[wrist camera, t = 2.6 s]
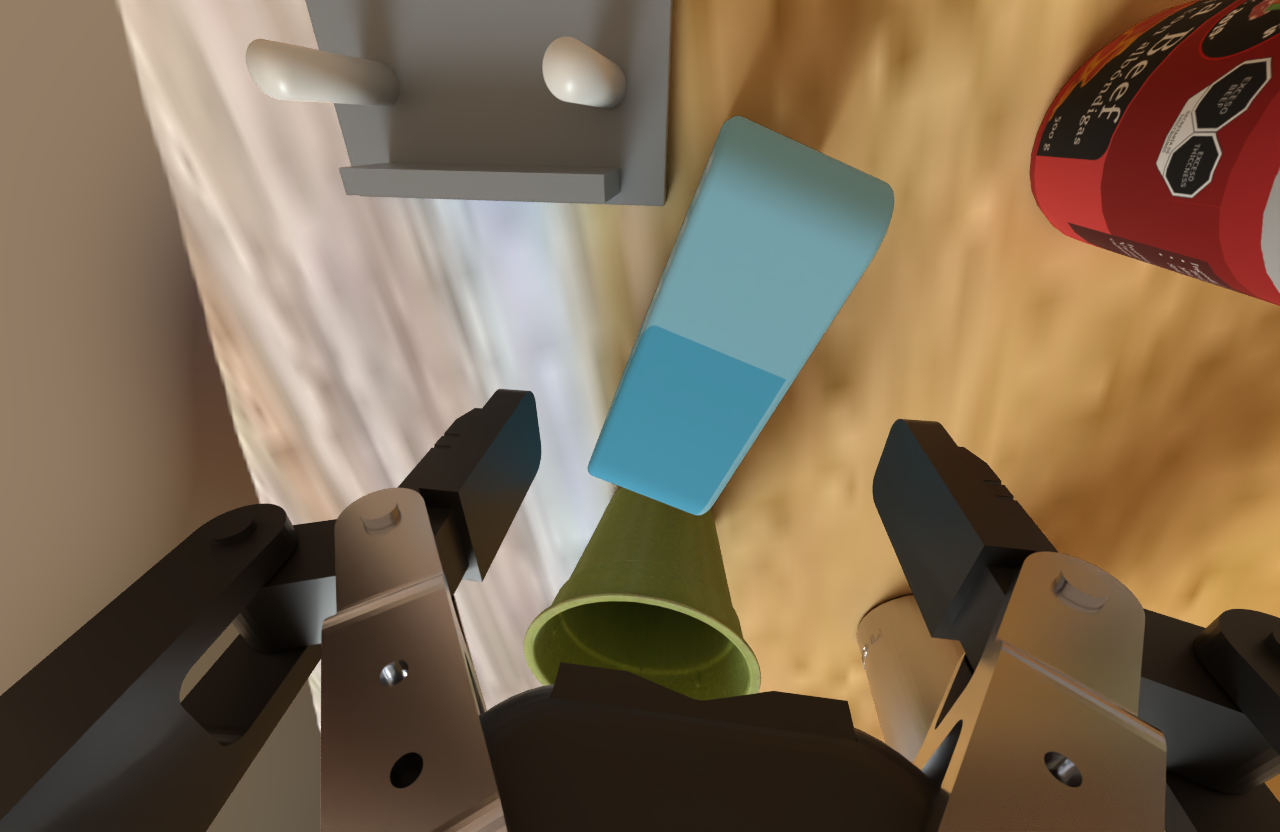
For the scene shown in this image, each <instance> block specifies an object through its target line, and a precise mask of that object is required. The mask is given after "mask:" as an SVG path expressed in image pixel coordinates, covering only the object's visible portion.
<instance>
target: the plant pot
mask: <svg viewBox="0 0 1280 832" xmlns="http://www.w3.org/2000/svg"><path fill="white" fill-rule="evenodd" d="M524 654H525V659H526V662H527V664H528V666H529V668H530V669H531V672H532V673H533V674H534V675H535V676H536V678H537V680H538V681H539V682H540V683H541V684H542V685H543V686H546V685H553V684H555V680H556V676H557V673H558V669H559V666H560V662H563V663H570V664H578V665H585V666H593V667H600V668H607V669H615V670H622V671H628V672H631V673H633V674H635V675H638V676H640V677H642V678H645V679H647V680H650V681H652V682H654V683H657V684H659V685H662V686H664V687H666V688H669V689H671V690H673V691H676V692H678V693H681V694H683V695H685V696H688V697H690V698H693V699H696V700H712V699H719V698H726V697H734V696H741V695H748V694H756V693H758V692H759V689H760V684H761V672H760V667H759V664H758V661H757V659H756V656H755V654H754V653H753V651H752V649H751V648H750V646H749V645H748V644H747V642H746V641H745V640H744V639H743V635H742V631H741V626H740V622H739V619H738V616H737V614H736V612H735V610H734V608H733V606H732V602H731V597H730V593H729V588H728V584H727V579H726V574H725V570H724V565H723V560H722V555H721V550H720V546H719V541H718V536H717V531H716V527H715V522H714V518H713V513H712V510H711V508H710V509H709V510H708V511H707V512H706V513H704V514H702V515H694V514H691V513H688V512H686V511H683V510H681V509H678V508H675V507H673V506H670V505H668V504H665V503H662V502H660V501H657V500H655V499H652V498H649V497H647V496H644V495H641V494H639V493H636V492H634V491H631V490H628V489H626V488H623V487H621V488H620V489H618V491H617V492H616V493H615V494H614V496H613V497H612V499H611V501H610V503H609V504H608V506H607V508H606V510H605V512H604V514H603V516H602V518H601V520H600V522H599V524H598V526H597V528H596V530H595V531H594V533H593V535H592V537H591V539H590V541H589V543H588V545H587V547H586V548H585V550H584V552H583V554H582V556H581V558H580V560H579V562H578V564H577V565H576V567H575V569H574V571H573V573H572V575H571V577H570V579H569V580H568V581H567V582H566V583H565V584H564V585H563V586H562V588H561V589H560V591H559V592H558V594H557V596H556V598H555V599H554V601H553V603H552V605H551V606H550V607H548V608H547V609H545V610H544V611H543V612H541V613H540V614H539V615H538V616H537V617H536V618H535V619H534V621H533V622H532V623H531V625H530V626H529V628H528V630H527V632H526V635H525V639H524Z"/></svg>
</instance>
